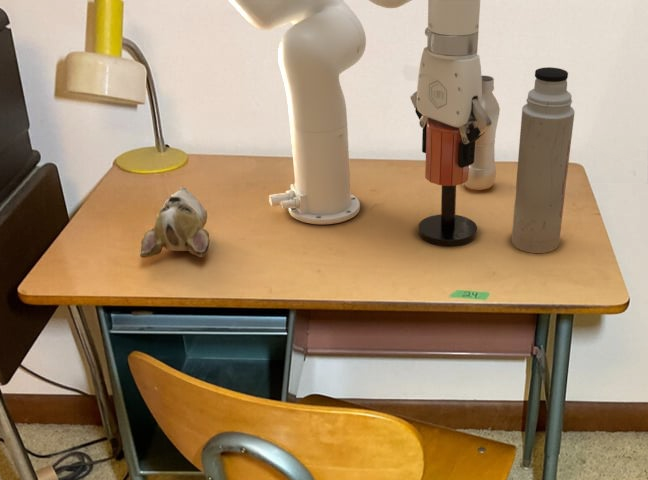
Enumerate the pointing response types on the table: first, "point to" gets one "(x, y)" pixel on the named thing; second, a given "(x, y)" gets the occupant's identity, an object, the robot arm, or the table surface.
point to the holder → (447, 224)
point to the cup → (444, 154)
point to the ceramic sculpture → (178, 227)
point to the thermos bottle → (543, 162)
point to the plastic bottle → (485, 142)
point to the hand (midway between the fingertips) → (447, 157)
